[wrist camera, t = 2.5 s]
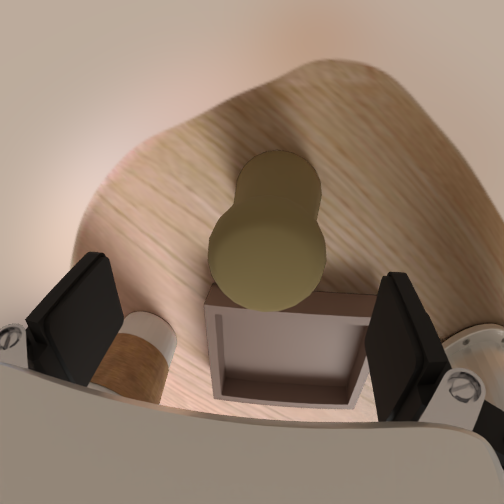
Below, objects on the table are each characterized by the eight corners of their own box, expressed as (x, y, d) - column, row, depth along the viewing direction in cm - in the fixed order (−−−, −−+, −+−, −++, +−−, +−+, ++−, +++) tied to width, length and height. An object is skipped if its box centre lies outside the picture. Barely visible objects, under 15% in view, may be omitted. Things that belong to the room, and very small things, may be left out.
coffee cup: (106, 293, 29) (20, 409, 16) (186, 308, 28) (120, 452, 15) (121, 353, 33) (63, 461, 20) (192, 369, 32) (148, 494, 19)
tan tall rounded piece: (286, 247, 24) (276, 352, 15) (219, 199, 23) (164, 282, 14) (339, 186, 22) (371, 266, 12) (269, 132, 20) (244, 168, 11)
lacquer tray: (380, 295, 25) (388, 318, 22) (351, 386, 31) (353, 409, 28) (213, 283, 27) (203, 304, 24) (219, 377, 32) (213, 398, 30)
